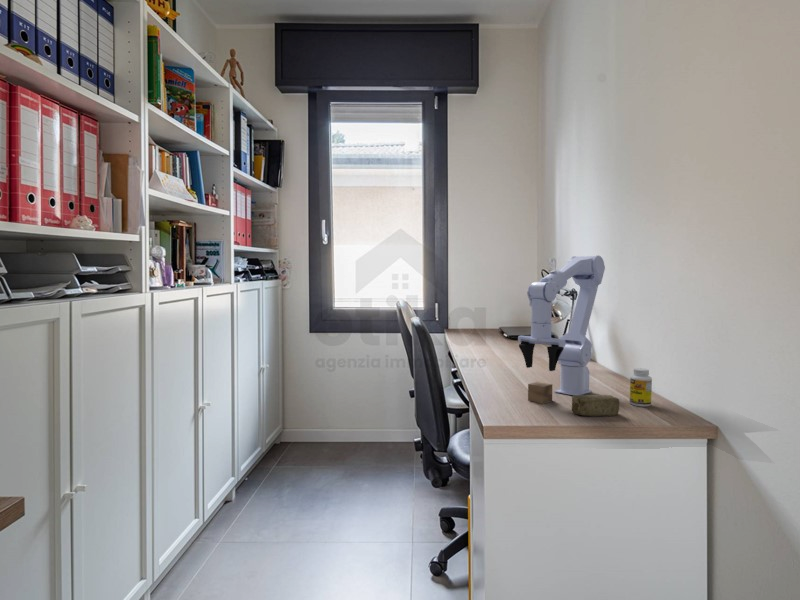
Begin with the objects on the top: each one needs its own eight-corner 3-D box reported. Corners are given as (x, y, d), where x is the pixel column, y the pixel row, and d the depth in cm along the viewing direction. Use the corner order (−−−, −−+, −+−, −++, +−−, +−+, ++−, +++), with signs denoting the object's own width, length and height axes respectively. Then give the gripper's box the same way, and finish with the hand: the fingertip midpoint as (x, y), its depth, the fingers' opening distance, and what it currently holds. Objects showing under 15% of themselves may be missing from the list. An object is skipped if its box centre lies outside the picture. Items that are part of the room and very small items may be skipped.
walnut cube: (537, 398, 153) (537, 381, 153) (552, 401, 150) (552, 384, 150) (527, 400, 150) (528, 384, 150) (543, 403, 146) (543, 386, 146)
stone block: (620, 417, 133) (620, 398, 132) (577, 417, 132) (577, 398, 132) (610, 411, 138) (610, 393, 138) (568, 412, 138) (569, 393, 138)
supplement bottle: (625, 403, 147) (626, 368, 146) (639, 401, 149) (639, 367, 149) (641, 408, 142) (642, 371, 141) (655, 406, 144) (656, 370, 144)
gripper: (512, 321, 152) (511, 367, 152) (556, 325, 141) (555, 373, 141) (525, 320, 156) (525, 364, 157) (569, 323, 146) (568, 371, 146)
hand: (540, 368), depth 149 cm, fingers open, 7 cm apart
